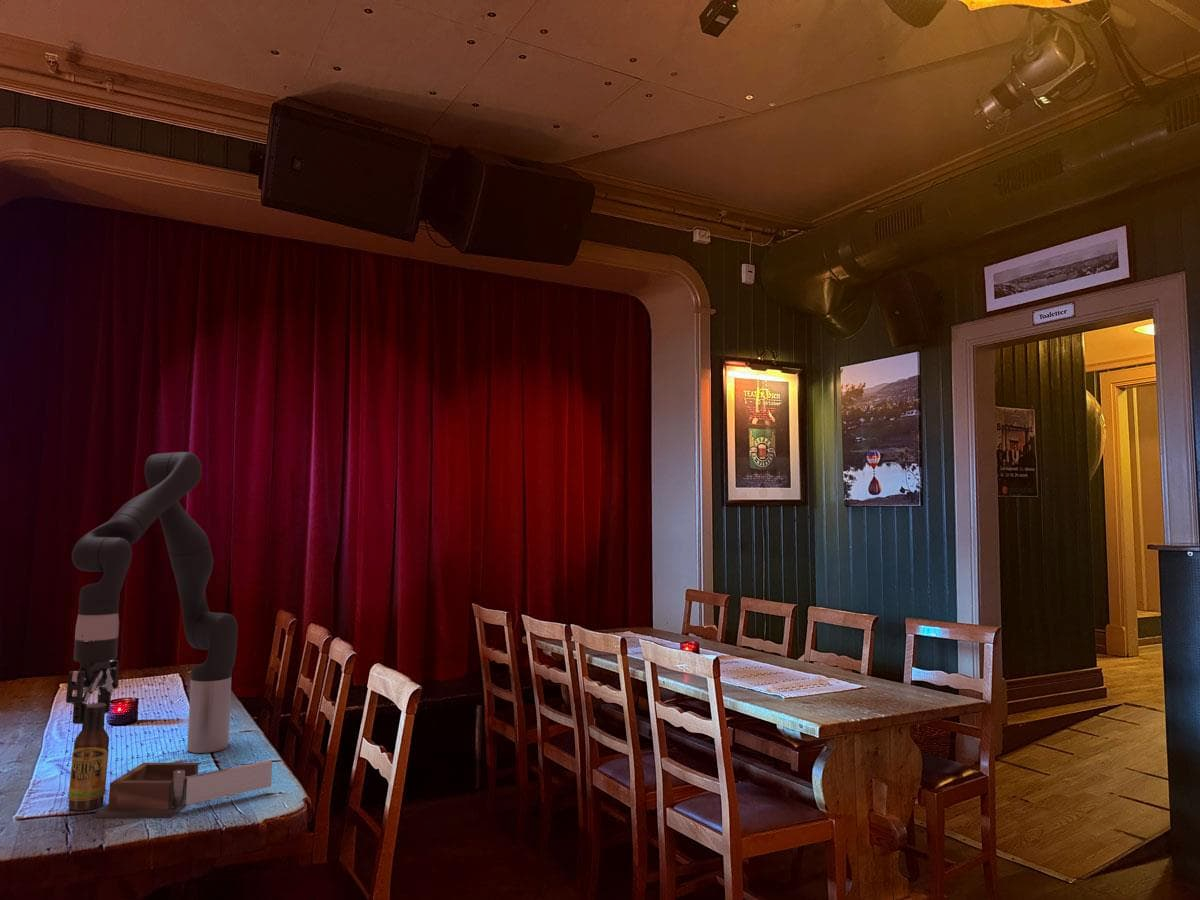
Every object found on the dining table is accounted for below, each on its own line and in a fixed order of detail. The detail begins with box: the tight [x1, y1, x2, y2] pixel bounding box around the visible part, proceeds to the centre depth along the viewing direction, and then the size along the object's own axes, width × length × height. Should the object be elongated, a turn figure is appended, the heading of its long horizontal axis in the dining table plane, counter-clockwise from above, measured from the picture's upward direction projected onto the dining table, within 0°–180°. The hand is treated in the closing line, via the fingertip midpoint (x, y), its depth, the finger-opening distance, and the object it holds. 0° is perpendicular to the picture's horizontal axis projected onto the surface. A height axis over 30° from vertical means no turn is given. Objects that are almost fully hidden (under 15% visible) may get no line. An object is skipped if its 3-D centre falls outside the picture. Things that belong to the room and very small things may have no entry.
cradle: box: [95, 762, 199, 819], centre depth 166 cm, size 16×14×6 cm
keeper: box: [172, 759, 273, 807], centre depth 167 cm, size 19×2×6 cm, turn 133°
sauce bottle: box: [67, 702, 110, 811], centre depth 164 cm, size 6×6×20 cm
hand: (91, 718), depth 164 cm, fingers open, 8 cm apart
